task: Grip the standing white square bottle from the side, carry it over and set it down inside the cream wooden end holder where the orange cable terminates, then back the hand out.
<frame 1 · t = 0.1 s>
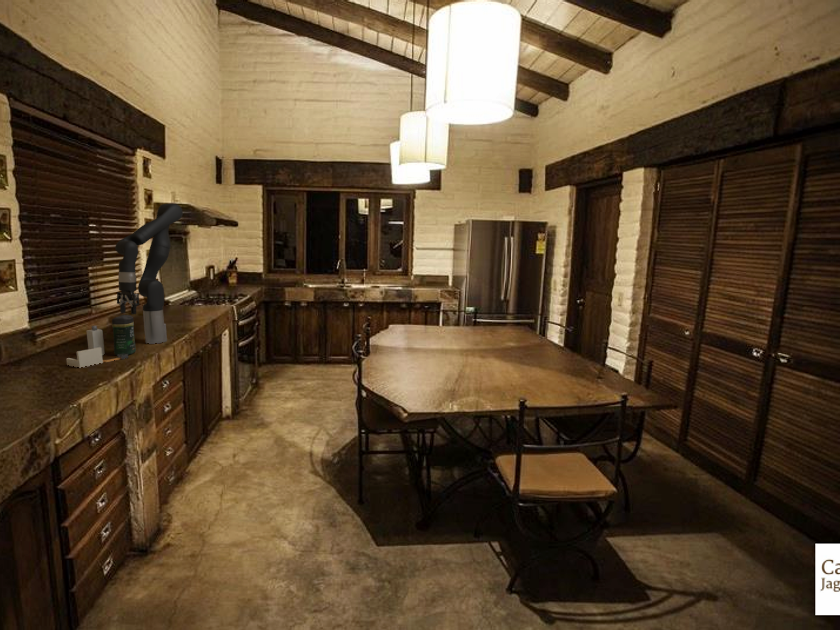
hand: (128, 313, 238), 17 cm above the counter, tool pointing down, fingers open, 8 cm apart
end holder: (84, 364, 209), on the counter
coffee jar: (125, 354, 228), on the counter
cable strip: (155, 342, 253), on the counter
white square bottle: (96, 355, 225), on the counter
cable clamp: (123, 358, 219), on the counter
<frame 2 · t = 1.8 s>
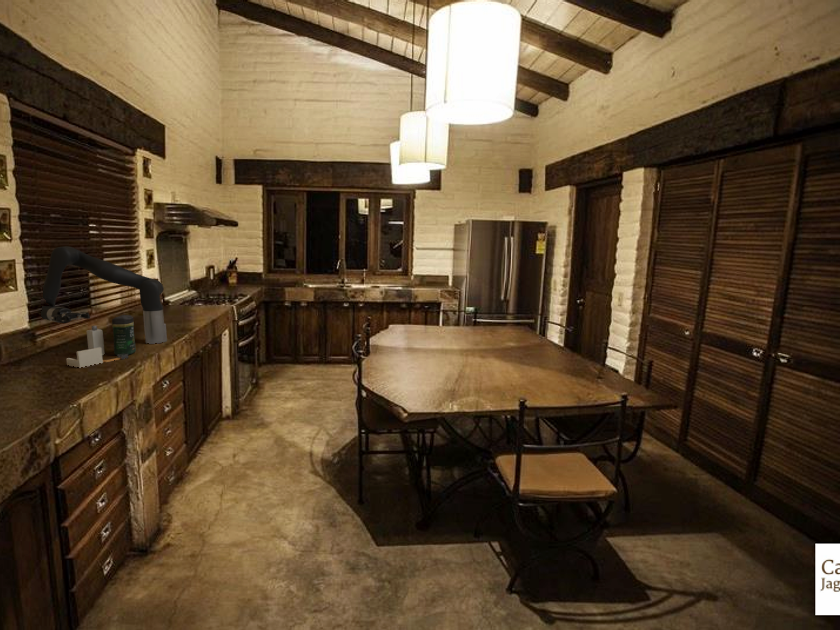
hand: (79, 317, 227), 17 cm above the counter, tool horizontal, fingers open, 8 cm apart
nothing on the counter moved.
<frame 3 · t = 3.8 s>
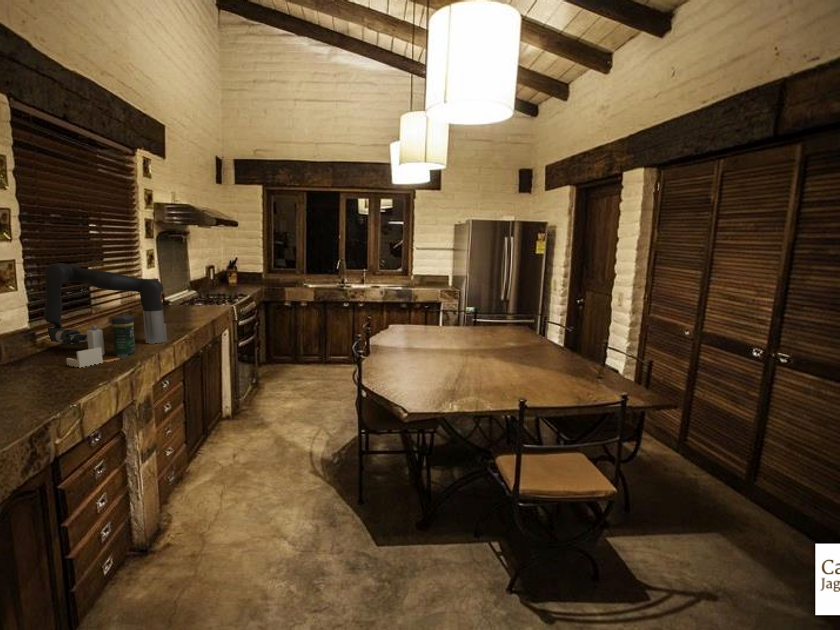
hand: (88, 340, 226), 6 cm above the counter, tool horizontal, fingers open, 8 cm apart
nothing on the counter moved.
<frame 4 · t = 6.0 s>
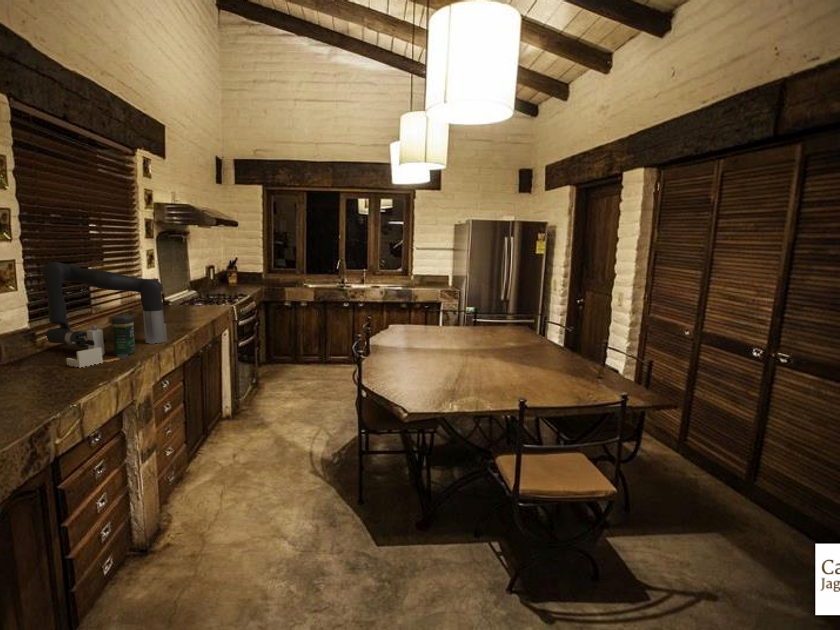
hand: (99, 342, 223), 7 cm above the counter, tool horizontal, fingers closed on white square bottle, 4 cm apart
white square bottle: (97, 355, 225), on the counter, touching gripper
everything else where it was.
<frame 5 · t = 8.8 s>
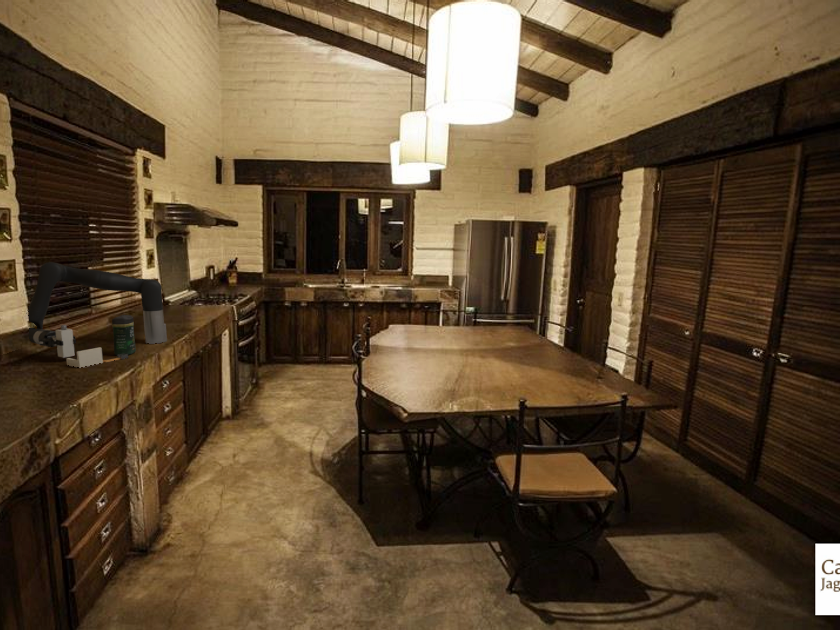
hand: (68, 342, 212), 9 cm above the counter, tool horizontal, fingers closed on white square bottle, 4 cm apart
white square bottle: (66, 355, 214), point 2 cm above the counter, touching gripper
everything else where it was.
when the fingers open (8 cm above the counter, at t = 11.8 s): white square bottle drops 1 cm, resting in end holder.
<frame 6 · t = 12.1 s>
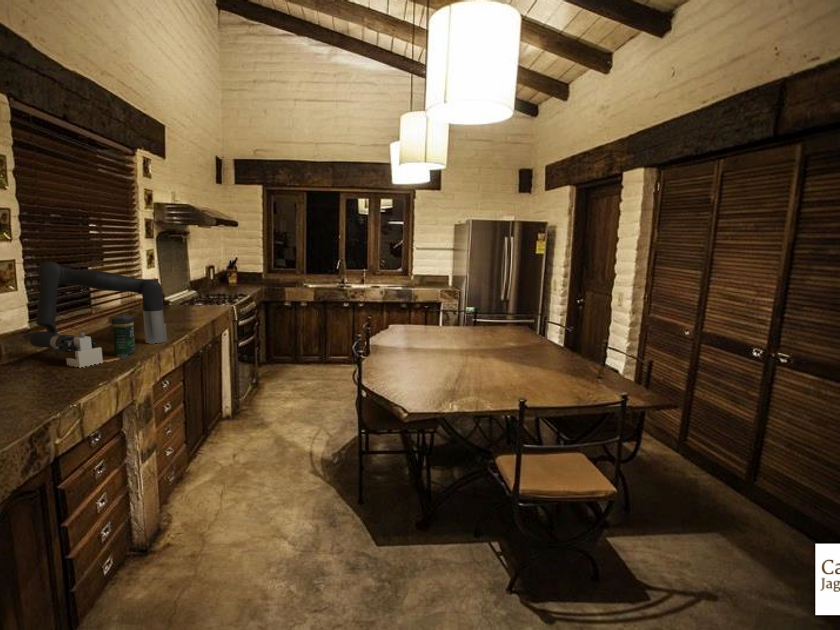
hand: (86, 346, 207), 8 cm above the counter, tool horizontal, fingers open, 7 cm apart
white square bottle: (84, 364, 209), resting in end holder
everything else where it was.
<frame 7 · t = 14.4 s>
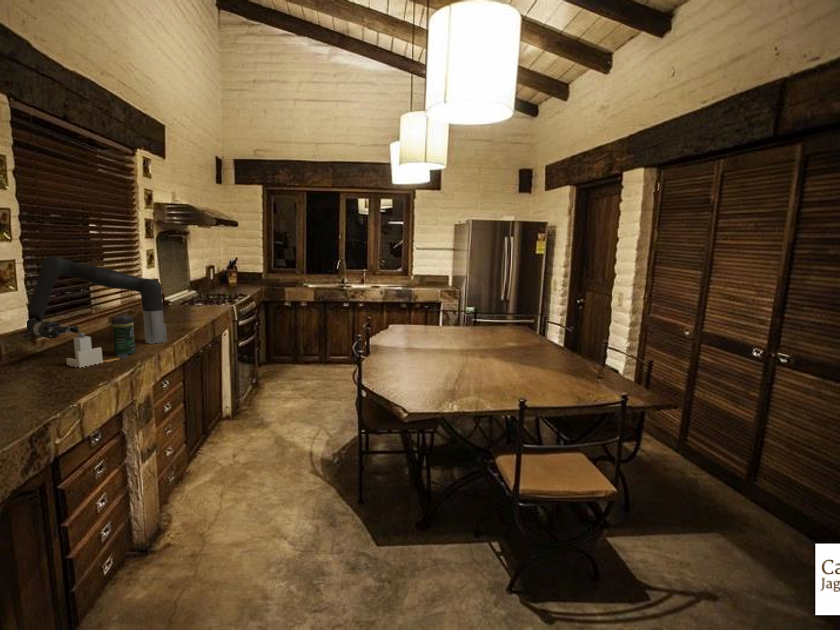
hand: (67, 332, 213), 13 cm above the counter, tool horizontal, fingers open, 8 cm apart
nothing on the counter moved.
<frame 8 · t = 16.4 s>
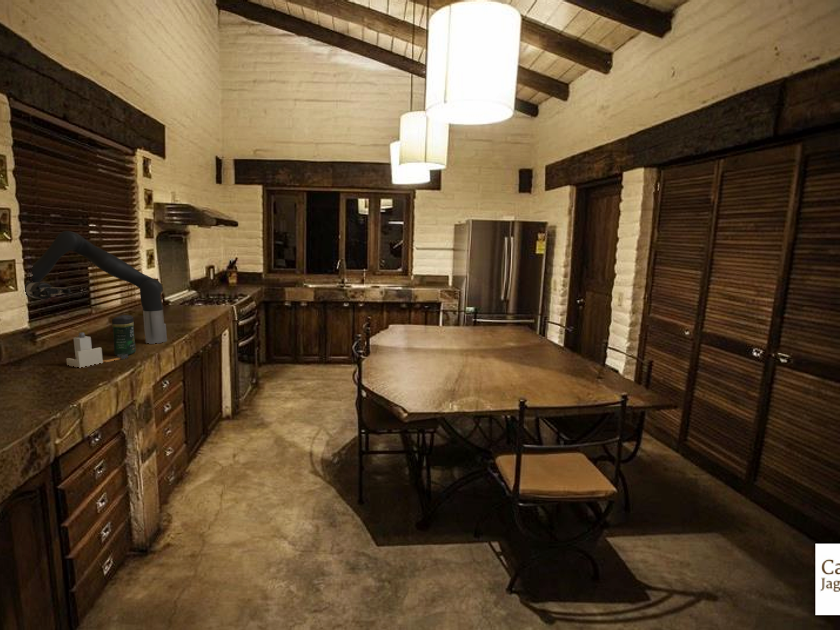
hand: (59, 292, 216), 30 cm above the counter, tool horizontal, fingers open, 8 cm apart
nothing on the counter moved.
at the end: white square bottle 0.3 cm off-centre on the end holder, point 0.0 cm above the end holder's base; white square bottle tilted 0°; the gripper is holding nothing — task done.
